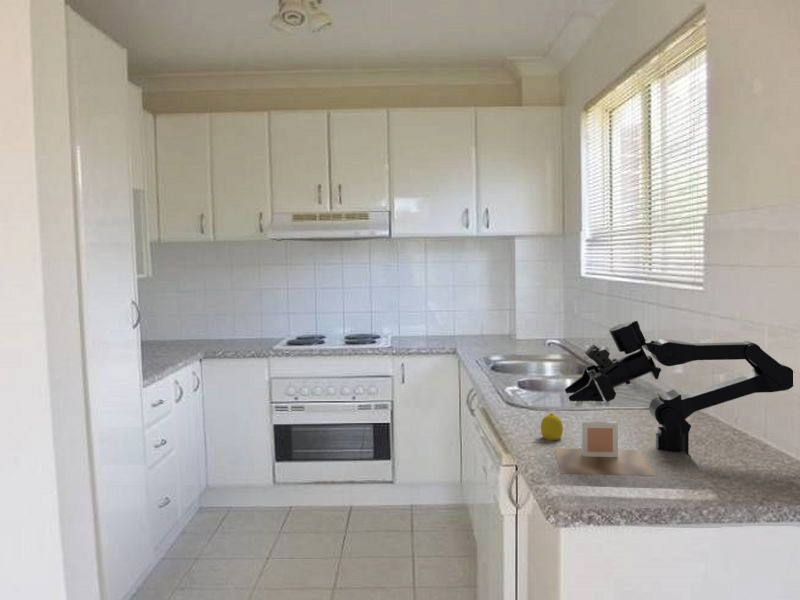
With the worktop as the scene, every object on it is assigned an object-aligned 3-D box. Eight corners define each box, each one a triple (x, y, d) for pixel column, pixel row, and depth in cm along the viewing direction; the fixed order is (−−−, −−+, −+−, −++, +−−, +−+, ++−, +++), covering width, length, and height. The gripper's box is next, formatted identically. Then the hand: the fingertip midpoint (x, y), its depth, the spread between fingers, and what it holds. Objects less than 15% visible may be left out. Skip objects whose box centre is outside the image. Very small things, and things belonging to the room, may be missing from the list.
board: (640, 456, 152) (640, 450, 152) (657, 482, 134) (657, 475, 134) (554, 454, 155) (554, 448, 155) (560, 480, 138) (560, 473, 138)
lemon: (547, 447, 161) (547, 416, 160) (537, 441, 166) (536, 411, 166) (567, 445, 162) (566, 414, 162) (556, 439, 168) (555, 409, 167)
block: (616, 454, 149) (616, 421, 148) (618, 457, 147) (617, 423, 147) (581, 454, 150) (581, 420, 150) (582, 456, 148) (582, 422, 148)
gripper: (606, 334, 162) (550, 359, 165) (619, 343, 144) (555, 372, 146) (625, 373, 162) (568, 398, 165) (641, 388, 144) (577, 415, 146)
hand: (567, 395), depth 156 cm, fingers open, 9 cm apart
